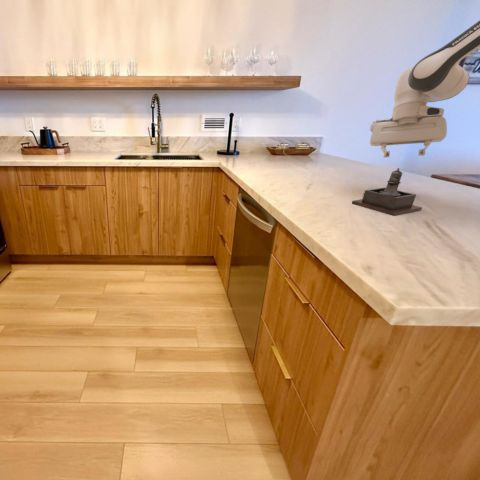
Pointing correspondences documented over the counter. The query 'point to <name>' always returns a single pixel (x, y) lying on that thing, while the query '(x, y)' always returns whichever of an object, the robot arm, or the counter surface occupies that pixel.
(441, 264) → the counter surface
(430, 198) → the counter surface
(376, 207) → the dark grey square tray
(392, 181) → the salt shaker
